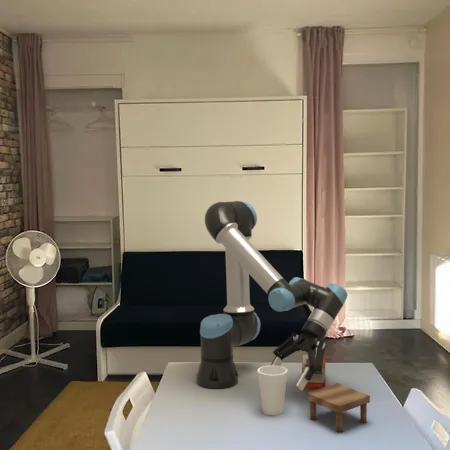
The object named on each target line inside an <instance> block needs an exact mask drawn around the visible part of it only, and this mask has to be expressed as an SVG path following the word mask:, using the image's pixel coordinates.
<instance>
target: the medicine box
mask: <svg viewBox="0 0 450 450" xmlns="http://www.w3.org/2000/svg"><path fill="white" fill-rule="evenodd" d="M315 359H316V354H315ZM301 363H302V364H301V375H302V374H303V373H304V371H305V369H306V367H308V366H309V359H308V354H303V356H302V362H301ZM308 368H309V367H308ZM309 369H310V368H309ZM323 387H326V355H325V354H324V359H323V367H322V372H319V371H317V372H315V373H314V374H313V376H312V378H311V380H310V381H308V382H307V384H306V385H305V387H304V389H303V390H317V389H320V388H323Z"/></svg>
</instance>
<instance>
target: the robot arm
mask: <svg viewBox="0 0 450 450" xmlns="http://www.w3.org/2000/svg"><path fill="white" fill-rule="evenodd" d="M257 220H258V216H257V212H256V210H255V208H254V207H253V206H252V205H251V204H250V203H248V202H246V201H243V200H241V201H240V200H239V201H238V200H236V201H235V200H234V201H218V202H215V203H213V204H212V205H210V206H209V207H208V208H207V210H206V212H205V215H204V226H205V228H206V230H207V232H208V233H209V235H210V236H211V238H212V239H213V240H214V241H215V242H216V243H217V244H221V245H222V246H223V247H224V249H225V251H224V252H225V268H226V269H225V272H226V273H225V275H226V302H227V303H226V306H225V307H224V308H223V313H217V314H211V315H208V316H206V317H205V318H204V317H203V319H202V320H201V322H200V329H199V335H200V337H199V339H200V363H199V367H198V371H197V373H196V384H197V385H198V386H200V387H202V388H205V389H206V388H207V389H214V390H215V389H216V390H217V389H218V390H219V389H225V388H226V389H227V388H231V387H234V386H236V385H237V384H238V383H239V373H238V370H237V368H236V364H235V361H234V348H237V347H239V346H242V345H244V344H248V343H250V342H251V341H253V340H255V339H256V338H257V337H258V336H259V334H260V331H261V320H260V318H259V316H258V314H257V313H256V312H255V308H254V306H252V305H251V299H250V277H252V279H253V280H254V281H255V282H256V284H258V285H259V287H261V289H262V290H263V291H264V292H265V293H266V295H268V303H269V306H270V308H272V309H271V310H273V311H276V312H280V313H281V312H285V311H290V310H291V309H293V308H296V307H299V306H303V305H308V306H309V307H312V308H313V310H312V311H311V313H310V315H309V317H307V320H306V321H305V323H304V324H303V326H302V328H301V333H300V334H299V335H298V334H297V333H296V331H295V332H292V334H290V337H288V338H287V339H286V340H285V341H284V342H282V343H281V344H280V345H279V346H278V347H277V348H275V349H274V350H273V351H272V353H273V354H274V356H275V357H274V359H273V360H272V362H271V364H270V365H275V366H282V364H283V363H284V359H286V358H288V357H290V356H291V355H293V354H294V353H296V352H300V351H302V352H305V353H307V355H308V359H309V366H308V367H309V368H310V369H309V368H308V367H306V369H305V371H304V373H303V374H302V373H301V376H300V378H299V380H298V381H297V383H296V385H295V386H296V387H297V388H298V389H299V390H300V391H302V392H303V390H305V389H304V387H305V385H306V384H307V382H308V381H310V380H311V378H312V376H313V374H314V373H315V372H317V371H319V372H322V367H323V359H324V355H325V351H326V349H327V347H328V345H327V344H326V343H325V341H324V339H325V337H326V336H327V332H328V331H330V328H331V326H332V325H333V323H334V321H335V320H336V318H337V316H338V315H339V313H340V311H341V309H342V308H343V307H344V305H345V303H346V301H347V298H348V292H347V290H346V289H345V288H344V287H343V286H341V285H339V284H338V283H332V282H331V283H329V284H328V285H327V286H326V287H324V286H322V285H321V286H320V285H318V284H316V283H313V282H311V281H309V280H307V279H305V278H301V277H298V276H297V277H296V276H295V277H293V278H292V279H291V280H289V283H288V282H287V281H286V279H285V278H284V277H283V276H282V275H281V274H280V273H279V272H278V271H277V270H276V268H274V267H273V266H272V264H271V263H270V262H269V261H268V260H267V259H266V258H265V257H264V255H263V254H262V253H261V252H260V251H258V249H257V248H256V247H255V246H254V245H253V244H252V243H251V241H250V239H251V238H253V237H252V235H253V234H252V231H253V229H254V228H255V227H256V225H257V222H258V221H257ZM315 355H316V359H315Z"/></svg>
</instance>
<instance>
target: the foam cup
mask: <svg viewBox="0 0 450 450" xmlns="http://www.w3.org/2000/svg"><path fill="white" fill-rule="evenodd" d="M256 375H257V377H256V378H257V381H258V386H259V387H258V388H259V394H260V395H259V396H260V401H261V402H260V403H261V408H262V412H263V413H264V414H265V415H268V416H269V415H270V416H279V415H281V414H283V413H284V409H285V408H284V407H285V398H286V392H287V391H286V389H287V382H288V381H287V380H288V379H289V377H288V376H289V370H288V368H286V367H284V366H282V365H281V366H275V365H271V364H270V365H263V366H260V367H259V368H257V373H256Z"/></svg>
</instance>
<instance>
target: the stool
mask: <svg viewBox="0 0 450 450" xmlns="http://www.w3.org/2000/svg"><path fill="white" fill-rule="evenodd" d="M306 400H308V401H309V416H310V417H309V419H310V420H311V421H316V420H317V405H319V406H322V407H324V408H326V409H329V410H331V411H333V412H335V432H336V433H343V413H344V412H347V411H349V410H352V409H355V408H358V407H359V409H360V412H359V413H360V415H359V416H360V417H359V419H360V423H362V424H366V423H367V422H368V421H367V420H368V419H367V411H368V408H367V404H369V403H370V402H371V395H370V394H366V393H364V392H362V391H359V390H356V389H354V388H350V387H348V386H347V385H343V384H341V383H337V382H336V383H334V384H330V385H327V386H326V385H325V387H323V388H320V389H313V390H311V391H308V392H306Z"/></svg>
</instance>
